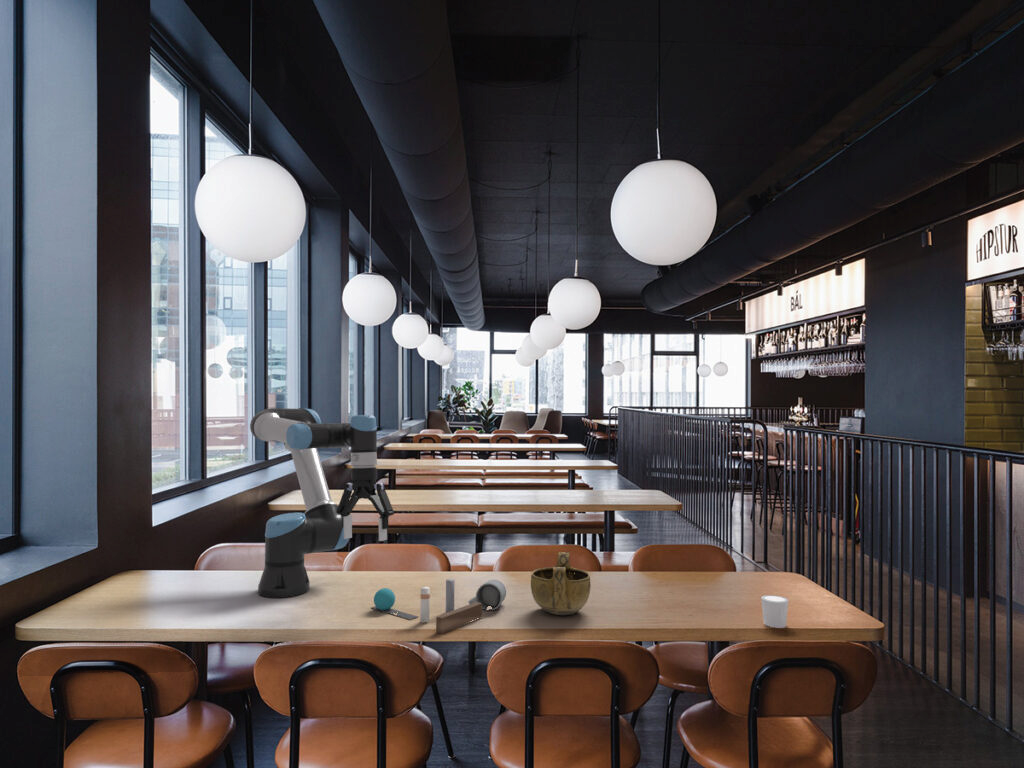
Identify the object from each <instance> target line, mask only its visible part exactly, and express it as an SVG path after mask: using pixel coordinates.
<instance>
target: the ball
mask: <svg viewBox="0 0 1024 768" xmlns="http://www.w3.org/2000/svg"><path fill="white" fill-rule="evenodd" d="M373 603H374V607H375V606H376V607H377V608H378V609H380V610H388V609H392V607H393V606H394V605H395V603H396V595H395V593H394V591H392V590H391V589H390V588H389V587H388V588H387V587H386V588H380V589H378V590H377V591H376V592H375V594H374V596H373Z"/></svg>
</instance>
